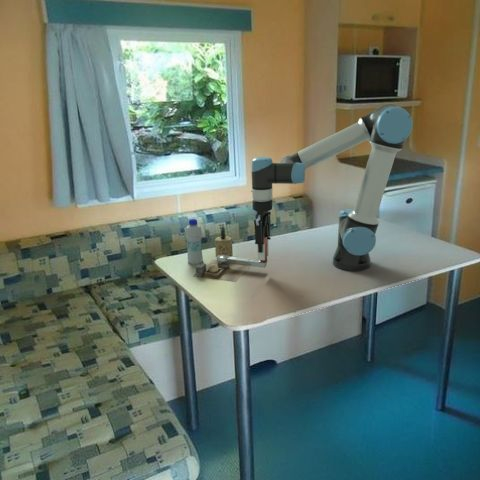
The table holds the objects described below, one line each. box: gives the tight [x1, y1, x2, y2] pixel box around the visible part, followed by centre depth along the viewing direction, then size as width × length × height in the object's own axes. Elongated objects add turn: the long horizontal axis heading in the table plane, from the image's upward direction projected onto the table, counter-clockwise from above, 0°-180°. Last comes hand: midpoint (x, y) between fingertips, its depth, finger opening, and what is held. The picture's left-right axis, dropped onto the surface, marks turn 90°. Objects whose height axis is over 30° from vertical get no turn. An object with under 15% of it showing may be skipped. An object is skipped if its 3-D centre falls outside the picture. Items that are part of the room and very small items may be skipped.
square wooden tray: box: [192, 258, 251, 283], centre depth 195 cm, size 18×19×6 cm
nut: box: [209, 264, 219, 273], centre depth 191 cm, size 4×4×4 cm
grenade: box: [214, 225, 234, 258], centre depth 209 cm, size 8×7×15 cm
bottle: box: [185, 218, 204, 265], centre depth 202 cm, size 7×7×20 cm
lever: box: [216, 236, 268, 269], centre depth 192 cm, size 21×5×12 cm, turn 69°
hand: (263, 257), depth 190 cm, fingers open, 4 cm apart
